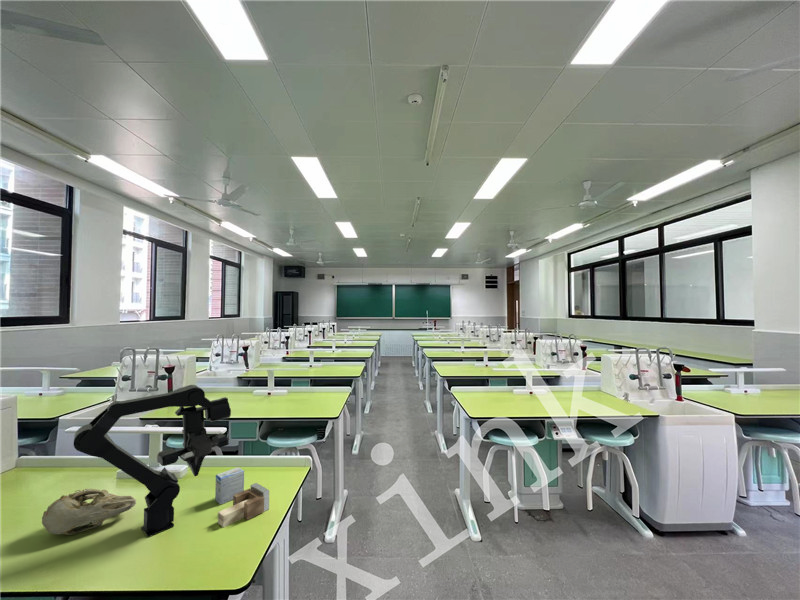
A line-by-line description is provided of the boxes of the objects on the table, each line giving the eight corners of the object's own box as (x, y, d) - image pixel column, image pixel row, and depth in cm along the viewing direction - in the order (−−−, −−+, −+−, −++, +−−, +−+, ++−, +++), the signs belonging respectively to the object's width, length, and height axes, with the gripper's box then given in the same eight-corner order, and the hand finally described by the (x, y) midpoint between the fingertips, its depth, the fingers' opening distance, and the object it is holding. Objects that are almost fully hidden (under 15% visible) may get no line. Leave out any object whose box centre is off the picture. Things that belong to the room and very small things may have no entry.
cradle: (247, 519, 104) (247, 504, 104) (232, 509, 110) (233, 495, 110) (264, 511, 108) (264, 497, 109) (249, 502, 114) (249, 488, 114)
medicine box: (238, 491, 122) (238, 466, 122) (244, 495, 119) (244, 470, 119) (214, 500, 116) (215, 474, 116) (220, 505, 113) (221, 478, 113)
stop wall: (263, 512, 109) (263, 492, 109) (250, 503, 114) (250, 485, 114) (269, 509, 110) (269, 490, 111) (255, 501, 115) (256, 482, 116)
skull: (119, 514, 113) (139, 520, 105) (32, 539, 96) (48, 549, 89) (123, 477, 116) (143, 480, 108) (39, 495, 99) (55, 501, 91)
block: (223, 528, 101) (223, 516, 101) (217, 524, 103) (218, 512, 103) (255, 513, 109) (255, 501, 109) (249, 509, 111) (250, 498, 111)
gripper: (167, 441, 96) (170, 497, 96) (235, 422, 110) (237, 470, 110) (155, 433, 103) (157, 485, 103) (220, 415, 117) (222, 461, 117)
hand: (195, 475), depth 108 cm, fingers closed
